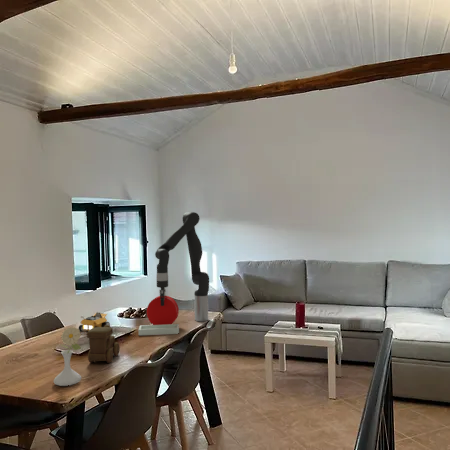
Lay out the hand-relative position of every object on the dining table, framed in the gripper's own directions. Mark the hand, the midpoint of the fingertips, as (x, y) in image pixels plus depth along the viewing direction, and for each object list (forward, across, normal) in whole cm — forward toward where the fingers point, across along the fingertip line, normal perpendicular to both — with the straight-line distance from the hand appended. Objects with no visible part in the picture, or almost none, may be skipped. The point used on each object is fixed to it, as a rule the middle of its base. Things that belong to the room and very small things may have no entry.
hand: (162, 304), depth 287 cm
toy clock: (+15, 0, 0) cm, 15 cm away
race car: (+15, -1, +43) cm, 46 cm away
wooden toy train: (+15, -62, +28) cm, 70 cm away
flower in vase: (+15, -93, +38) cm, 101 cm away
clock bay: (+15, -14, +2) cm, 20 cm away
